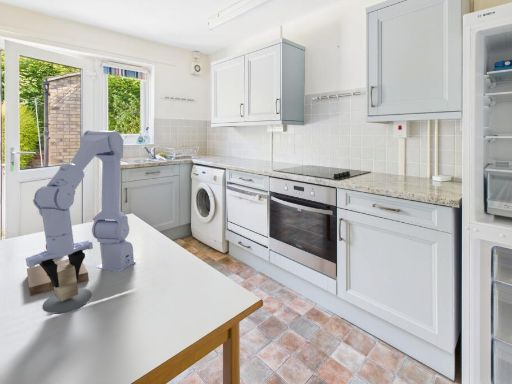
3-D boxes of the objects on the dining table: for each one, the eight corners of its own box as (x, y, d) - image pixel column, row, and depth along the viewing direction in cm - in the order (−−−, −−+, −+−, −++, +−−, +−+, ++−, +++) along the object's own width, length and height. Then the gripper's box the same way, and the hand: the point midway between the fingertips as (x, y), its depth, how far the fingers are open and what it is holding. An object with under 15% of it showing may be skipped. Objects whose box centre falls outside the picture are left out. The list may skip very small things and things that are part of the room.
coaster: (101, 294, 82) (101, 292, 82) (65, 317, 72) (65, 315, 72) (70, 287, 85) (70, 285, 85) (32, 309, 75) (31, 307, 75)
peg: (71, 289, 81) (68, 262, 79) (78, 294, 79) (74, 266, 77) (55, 296, 78) (51, 267, 76) (61, 301, 76) (57, 272, 74)
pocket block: (80, 264, 99) (79, 256, 99) (89, 281, 89) (87, 272, 88) (28, 277, 91) (26, 268, 90) (30, 297, 80) (28, 287, 79)
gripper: (81, 222, 83) (87, 268, 85) (18, 237, 71) (26, 289, 74) (94, 227, 78) (99, 275, 81) (28, 244, 67) (37, 298, 70)
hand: (65, 282), depth 77 cm, fingers closed on peg, 4 cm apart
